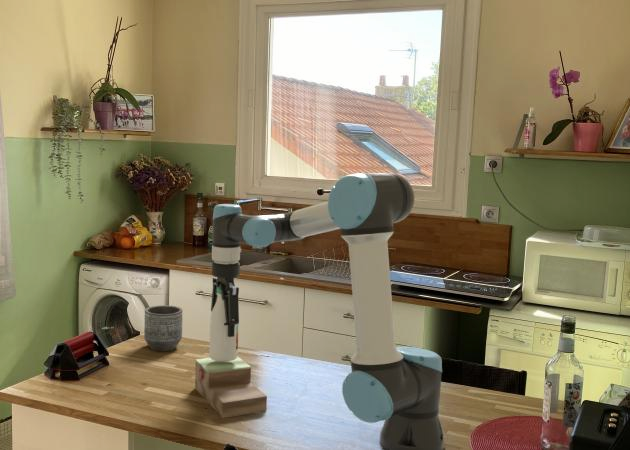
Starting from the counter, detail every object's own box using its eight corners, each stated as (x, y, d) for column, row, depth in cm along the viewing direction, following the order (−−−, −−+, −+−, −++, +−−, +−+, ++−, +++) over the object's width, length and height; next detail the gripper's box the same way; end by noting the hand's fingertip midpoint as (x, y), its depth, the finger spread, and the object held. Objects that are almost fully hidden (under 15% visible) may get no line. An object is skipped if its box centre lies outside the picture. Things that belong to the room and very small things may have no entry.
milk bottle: (232, 363, 190) (234, 290, 187) (205, 360, 191) (206, 288, 189) (241, 355, 197) (243, 284, 195) (214, 352, 199) (216, 282, 196)
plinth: (268, 410, 184) (269, 379, 183) (220, 418, 178) (221, 386, 177) (237, 382, 203) (238, 354, 202) (193, 388, 197) (193, 359, 196)
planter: (187, 350, 230) (187, 312, 229) (150, 355, 224) (151, 316, 223) (174, 340, 241) (175, 303, 239) (139, 344, 235) (139, 306, 233)
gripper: (253, 267, 183) (250, 352, 186) (225, 254, 201) (223, 331, 204) (226, 269, 180) (224, 355, 183) (200, 255, 198) (198, 334, 201)
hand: (223, 343), depth 194 cm, fingers closed on milk bottle, 8 cm apart
